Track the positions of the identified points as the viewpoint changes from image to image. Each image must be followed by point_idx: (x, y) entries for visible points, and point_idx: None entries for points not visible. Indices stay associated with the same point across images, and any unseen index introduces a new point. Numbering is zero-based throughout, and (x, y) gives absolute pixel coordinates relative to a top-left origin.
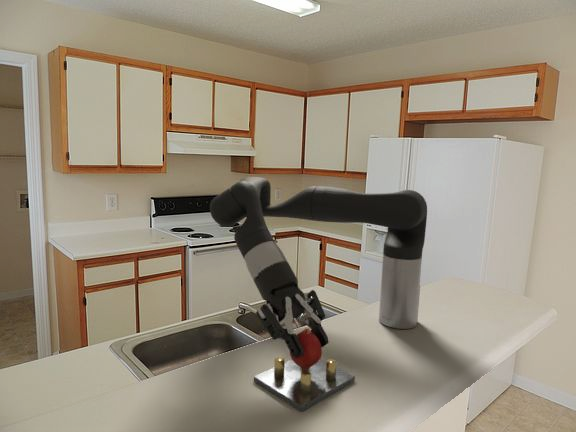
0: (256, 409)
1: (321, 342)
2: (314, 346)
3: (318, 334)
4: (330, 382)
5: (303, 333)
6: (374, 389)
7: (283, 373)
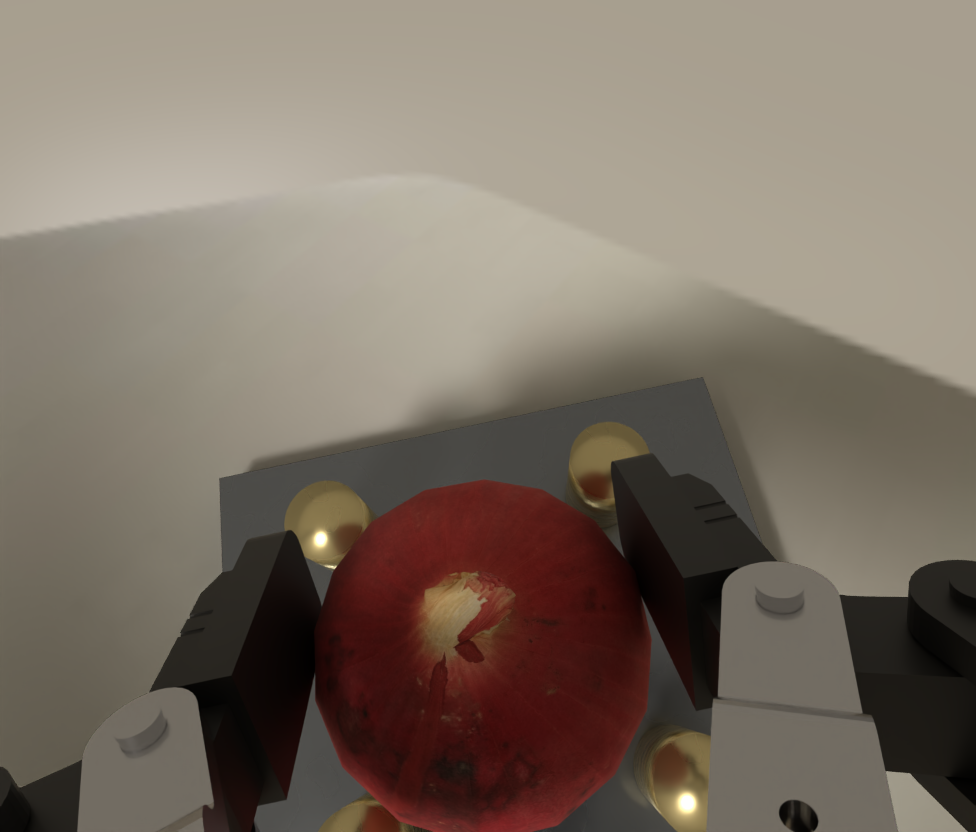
0: (936, 530)
1: (302, 599)
2: (469, 487)
3: (277, 645)
4: (401, 494)
5: (518, 619)
6: (212, 376)
7: (656, 730)
